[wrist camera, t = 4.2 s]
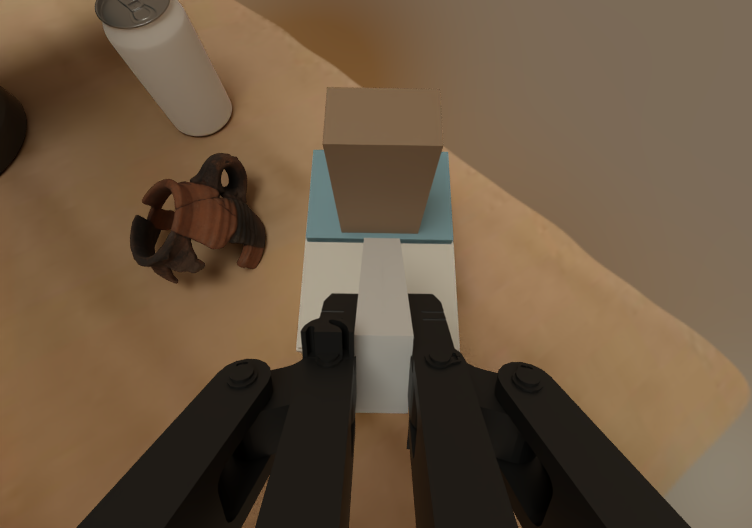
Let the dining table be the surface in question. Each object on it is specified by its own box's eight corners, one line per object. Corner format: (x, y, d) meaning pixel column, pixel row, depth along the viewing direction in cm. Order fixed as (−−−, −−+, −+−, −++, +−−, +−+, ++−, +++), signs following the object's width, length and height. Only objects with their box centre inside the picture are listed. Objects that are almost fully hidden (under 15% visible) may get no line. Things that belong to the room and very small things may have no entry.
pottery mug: (254, 302, 32) (163, 289, 25) (197, 277, 37) (108, 261, 30) (294, 178, 33) (216, 132, 26) (233, 170, 38) (155, 130, 31)
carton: (437, 362, 30) (465, 352, 21) (318, 360, 30) (292, 349, 21) (431, 214, 35) (452, 150, 25) (327, 212, 35) (310, 148, 25)
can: (193, 149, 37) (112, 44, 26) (162, 111, 39) (74, -4, 27) (245, 117, 38) (191, 4, 27) (213, 81, 40) (149, -40, 29)
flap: (450, 244, 24) (499, 154, 15) (308, 242, 24) (265, 151, 15) (445, 158, 26) (485, 33, 17) (315, 156, 26) (282, 30, 17)
